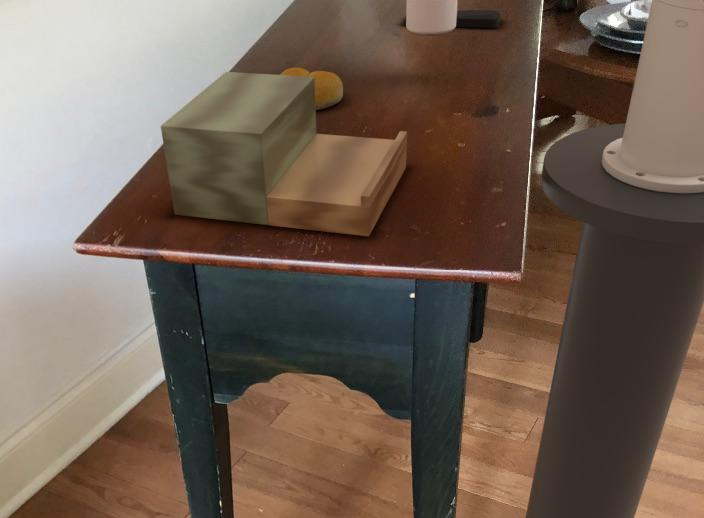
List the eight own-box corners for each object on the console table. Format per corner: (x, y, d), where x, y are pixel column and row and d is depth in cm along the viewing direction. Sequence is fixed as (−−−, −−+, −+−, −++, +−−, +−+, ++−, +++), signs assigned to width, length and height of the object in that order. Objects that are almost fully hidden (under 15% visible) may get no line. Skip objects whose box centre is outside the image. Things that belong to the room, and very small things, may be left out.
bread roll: (334, 114, 99) (333, 81, 97) (266, 109, 102) (264, 77, 99) (351, 91, 105) (351, 60, 103) (287, 87, 108) (285, 56, 105)
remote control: (403, 28, 129) (497, 28, 125) (403, 17, 128) (498, 16, 124) (409, 20, 132) (501, 19, 128) (409, 9, 131) (501, 7, 127)
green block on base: (406, 167, 86) (409, 82, 80) (368, 236, 74) (369, 142, 68) (234, 152, 91) (225, 71, 85) (174, 215, 79) (160, 125, 74)
